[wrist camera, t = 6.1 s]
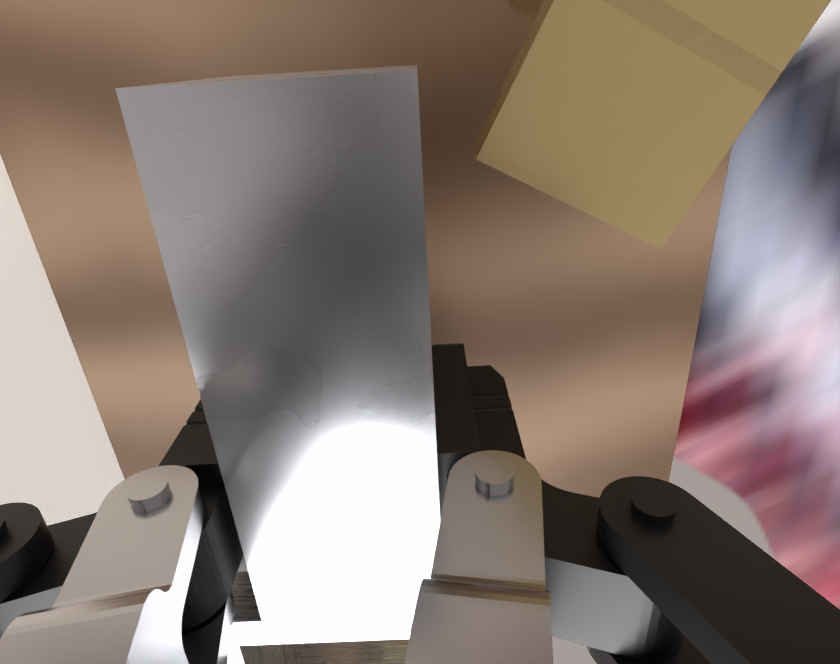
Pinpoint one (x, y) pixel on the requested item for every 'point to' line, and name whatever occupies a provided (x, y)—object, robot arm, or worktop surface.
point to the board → (444, 221)
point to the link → (305, 341)
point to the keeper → (636, 100)
